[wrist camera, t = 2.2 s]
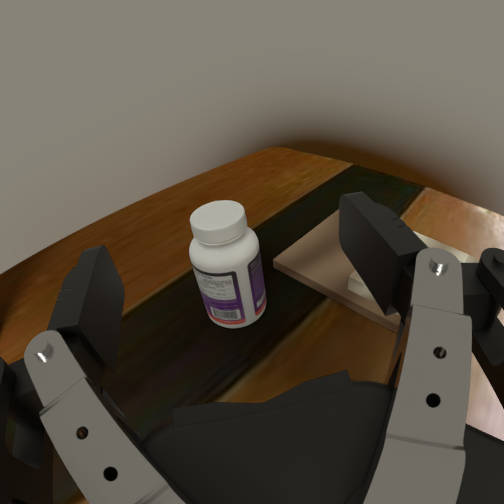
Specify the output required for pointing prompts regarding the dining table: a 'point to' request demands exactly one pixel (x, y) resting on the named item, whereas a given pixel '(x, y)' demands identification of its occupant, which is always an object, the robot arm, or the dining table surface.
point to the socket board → (341, 270)
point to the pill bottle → (227, 264)
